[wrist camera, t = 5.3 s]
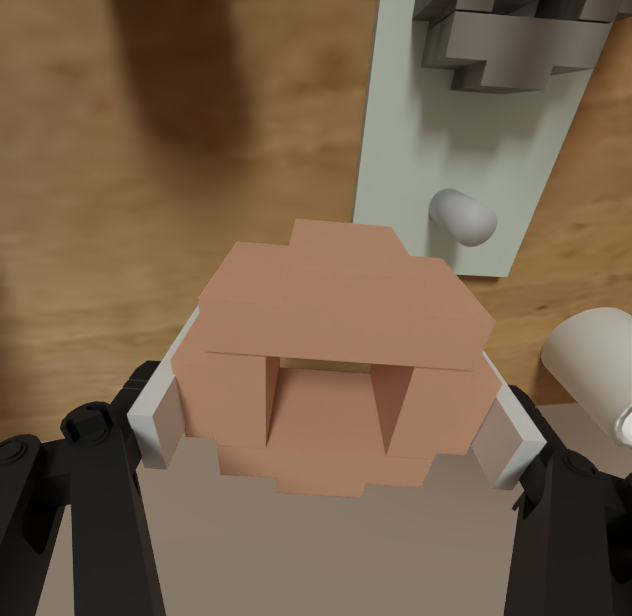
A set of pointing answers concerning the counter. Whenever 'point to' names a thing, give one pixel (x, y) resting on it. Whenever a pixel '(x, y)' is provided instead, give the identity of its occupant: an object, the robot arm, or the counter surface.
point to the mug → (596, 367)
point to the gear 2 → (515, 41)
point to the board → (454, 149)
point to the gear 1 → (336, 345)
